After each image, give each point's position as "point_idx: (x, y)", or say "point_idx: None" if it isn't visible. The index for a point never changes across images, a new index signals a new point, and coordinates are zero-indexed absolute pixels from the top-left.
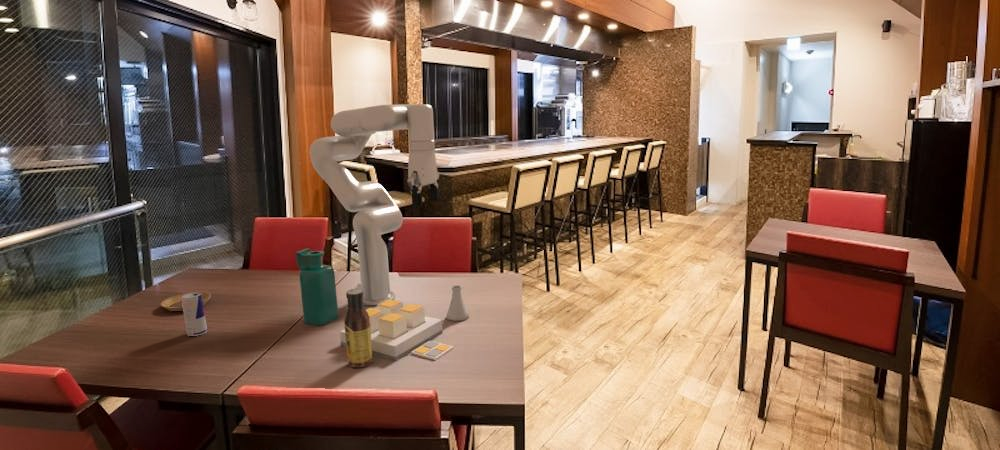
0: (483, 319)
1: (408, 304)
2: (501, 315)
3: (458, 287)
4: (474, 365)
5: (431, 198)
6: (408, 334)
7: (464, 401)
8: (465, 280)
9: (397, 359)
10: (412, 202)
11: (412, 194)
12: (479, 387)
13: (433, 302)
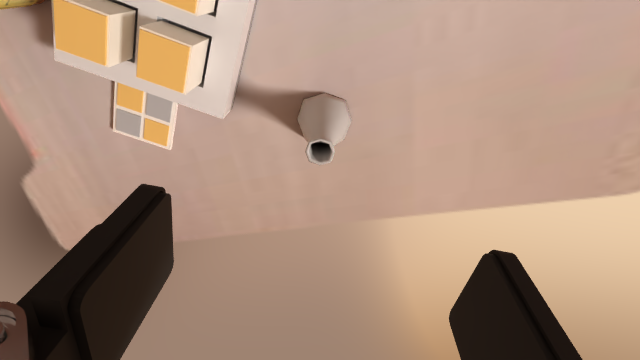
0: (319, 173)
1: (181, 45)
2: (346, 202)
3: (331, 152)
4: (130, 192)
5: (481, 293)
6: (120, 68)
7: (31, 199)
8: (627, 70)
9: None
10: (122, 207)
11: (49, 290)
12: (74, 210)
13: (425, 24)
